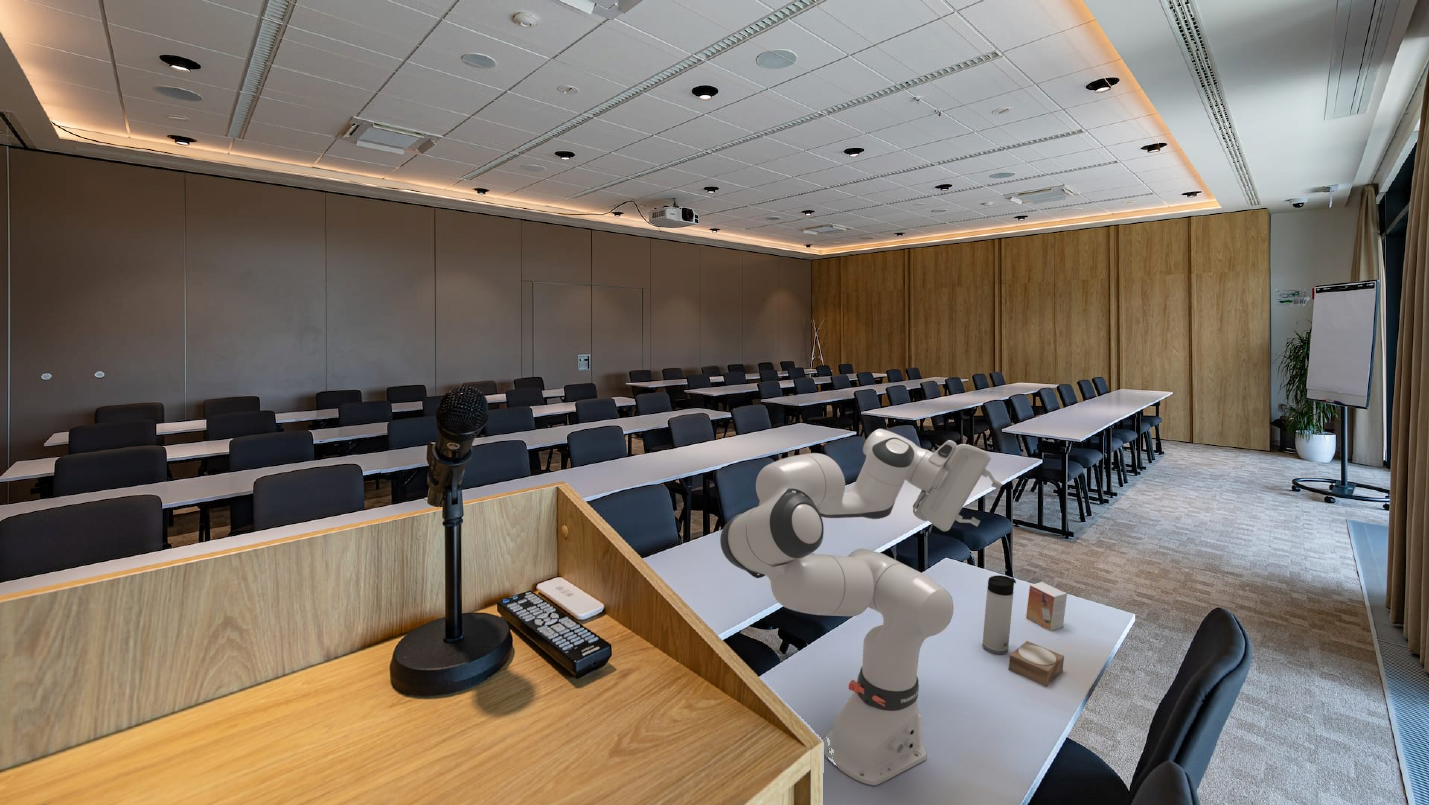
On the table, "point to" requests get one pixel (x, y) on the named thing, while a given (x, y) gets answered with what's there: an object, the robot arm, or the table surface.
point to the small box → (1046, 606)
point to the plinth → (1036, 663)
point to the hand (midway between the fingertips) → (989, 505)
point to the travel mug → (998, 614)
